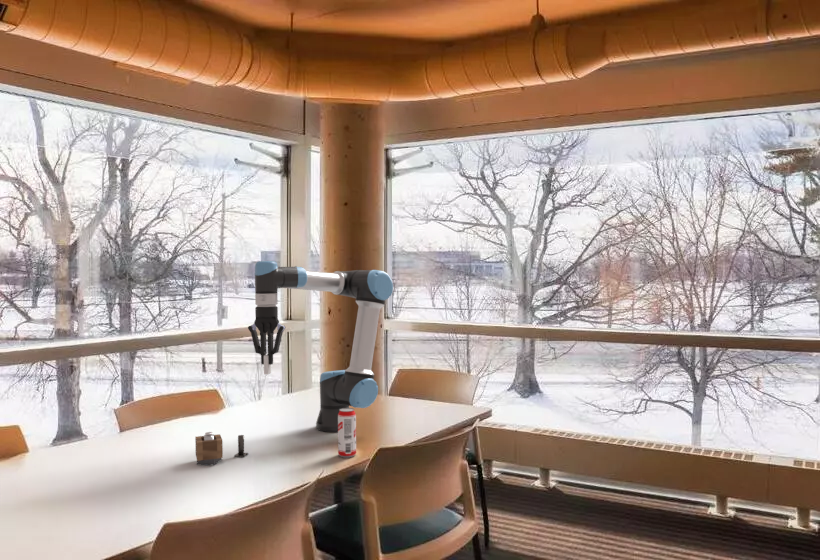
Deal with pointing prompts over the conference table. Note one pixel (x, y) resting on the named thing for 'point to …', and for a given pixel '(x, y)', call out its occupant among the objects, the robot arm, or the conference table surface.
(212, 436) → the hub
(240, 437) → the stand
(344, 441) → the beer can
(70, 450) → the conference table surface
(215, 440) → the brown box
